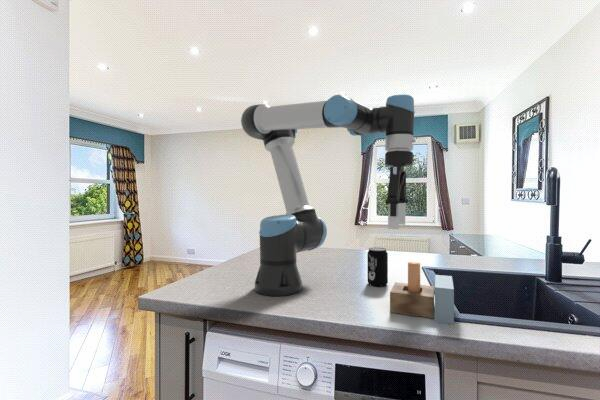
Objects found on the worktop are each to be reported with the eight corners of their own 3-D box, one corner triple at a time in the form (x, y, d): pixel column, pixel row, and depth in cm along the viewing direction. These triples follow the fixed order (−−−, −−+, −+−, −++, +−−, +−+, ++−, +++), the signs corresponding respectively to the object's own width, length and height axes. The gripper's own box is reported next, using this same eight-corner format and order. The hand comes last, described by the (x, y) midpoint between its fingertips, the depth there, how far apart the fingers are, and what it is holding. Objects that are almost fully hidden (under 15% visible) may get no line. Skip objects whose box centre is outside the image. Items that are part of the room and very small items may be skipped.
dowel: (407, 310, 80) (407, 263, 80) (408, 306, 82) (408, 261, 82) (419, 312, 78) (419, 264, 78) (420, 308, 81) (420, 262, 81)
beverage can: (388, 287, 100) (388, 250, 100) (367, 286, 101) (367, 250, 101) (387, 282, 107) (386, 247, 106) (367, 281, 108) (367, 246, 108)
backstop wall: (434, 321, 72) (434, 287, 72) (435, 304, 84) (435, 274, 84) (454, 324, 71) (453, 289, 71) (452, 306, 83) (451, 276, 83)
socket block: (390, 311, 78) (389, 292, 78) (395, 300, 87) (395, 282, 87) (433, 318, 74) (433, 297, 74) (434, 304, 83) (433, 286, 83)
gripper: (407, 144, 75) (405, 232, 75) (417, 156, 97) (415, 223, 98) (376, 145, 78) (374, 229, 78) (392, 157, 100) (390, 222, 101)
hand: (397, 226), depth 88 cm, fingers open, 13 cm apart
